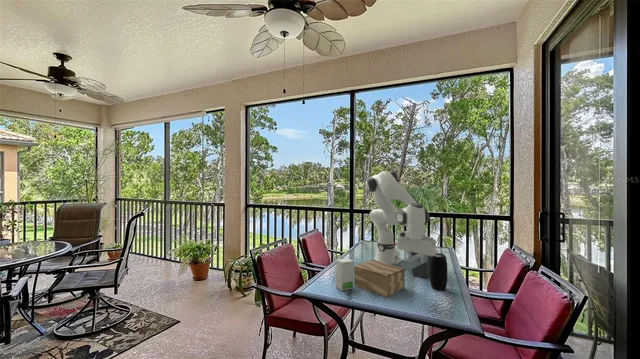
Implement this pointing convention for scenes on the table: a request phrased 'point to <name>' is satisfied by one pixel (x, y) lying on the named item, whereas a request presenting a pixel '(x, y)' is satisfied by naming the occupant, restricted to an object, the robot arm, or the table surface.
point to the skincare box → (344, 274)
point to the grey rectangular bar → (413, 261)
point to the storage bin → (422, 268)
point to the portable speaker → (438, 271)
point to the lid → (379, 268)
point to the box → (379, 282)
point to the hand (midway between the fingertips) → (415, 260)
